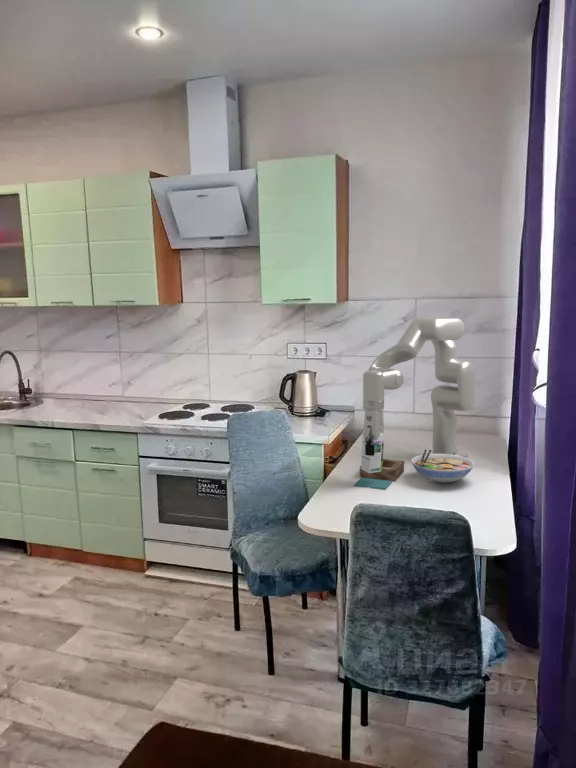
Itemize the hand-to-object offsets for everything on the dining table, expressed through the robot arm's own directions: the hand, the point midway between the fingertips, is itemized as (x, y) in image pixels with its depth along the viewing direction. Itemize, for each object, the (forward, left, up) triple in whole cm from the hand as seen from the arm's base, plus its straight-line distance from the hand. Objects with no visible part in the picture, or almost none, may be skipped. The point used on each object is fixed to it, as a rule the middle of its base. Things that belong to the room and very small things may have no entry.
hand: (373, 452), depth 218 cm
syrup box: (+1, 0, -7) cm, 7 cm away
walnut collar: (0, -13, -12) cm, 17 cm away
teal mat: (0, 0, -12) cm, 12 cm away
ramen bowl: (-23, -14, -12) cm, 29 cm away
